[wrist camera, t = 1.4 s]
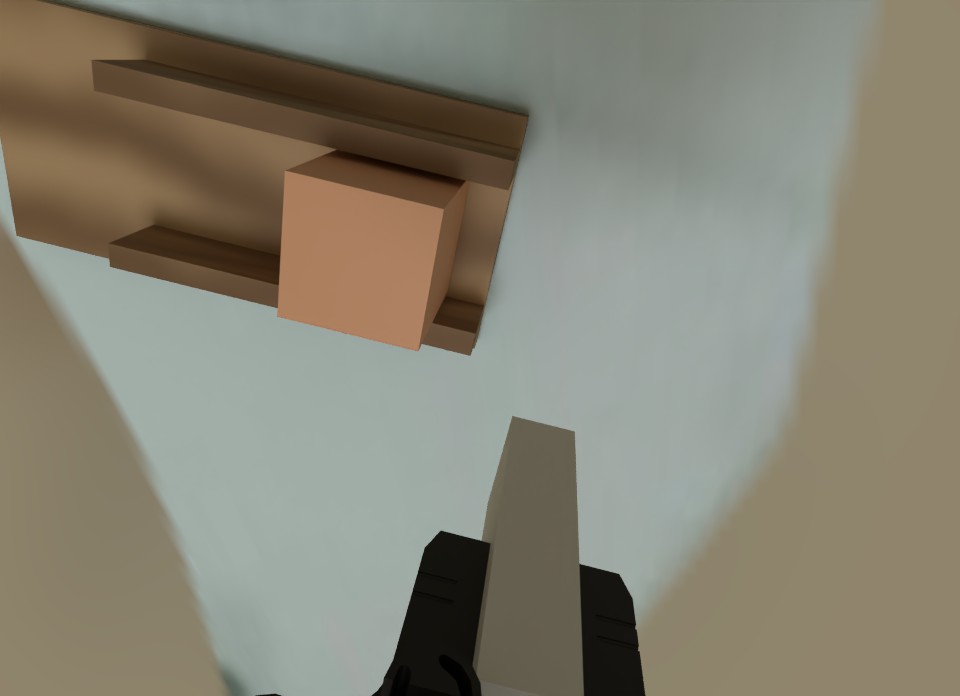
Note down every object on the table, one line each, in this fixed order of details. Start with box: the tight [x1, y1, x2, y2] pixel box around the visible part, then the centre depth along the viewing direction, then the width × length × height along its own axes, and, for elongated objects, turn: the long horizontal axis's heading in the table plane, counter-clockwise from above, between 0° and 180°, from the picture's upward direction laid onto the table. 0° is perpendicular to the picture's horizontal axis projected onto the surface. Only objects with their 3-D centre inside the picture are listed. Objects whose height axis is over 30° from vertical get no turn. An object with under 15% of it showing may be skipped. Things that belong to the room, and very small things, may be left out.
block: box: [277, 150, 469, 351], centre depth 26 cm, size 6×6×7 cm
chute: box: [0, 0, 529, 356], centre depth 28 cm, size 12×26×4 cm, turn 78°
